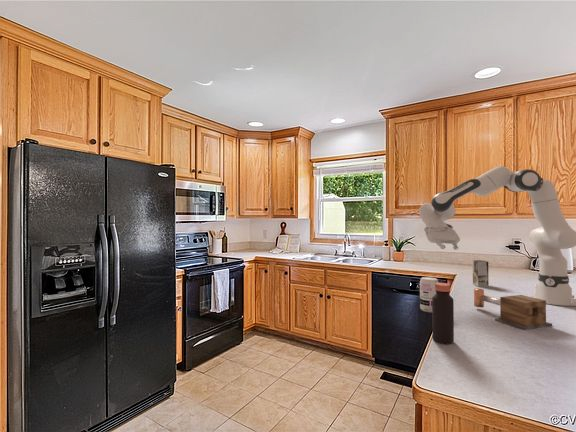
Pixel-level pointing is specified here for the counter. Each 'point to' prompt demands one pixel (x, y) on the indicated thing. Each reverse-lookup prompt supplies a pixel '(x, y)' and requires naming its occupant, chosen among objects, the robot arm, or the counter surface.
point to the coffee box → (480, 273)
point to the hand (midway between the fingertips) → (450, 248)
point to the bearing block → (523, 312)
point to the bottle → (442, 314)
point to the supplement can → (427, 293)
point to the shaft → (483, 298)
